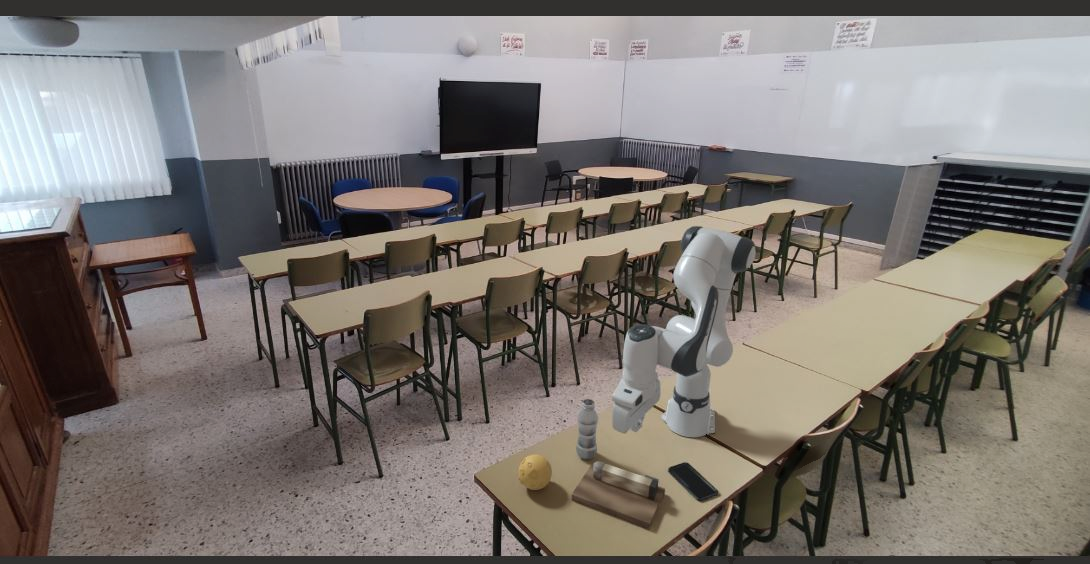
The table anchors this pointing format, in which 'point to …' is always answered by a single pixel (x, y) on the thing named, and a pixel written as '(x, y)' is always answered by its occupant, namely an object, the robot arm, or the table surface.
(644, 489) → the stool leg
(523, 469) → the stress ball
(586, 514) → the table surface
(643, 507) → the seat board
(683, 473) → the phone
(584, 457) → the plastic bottle
